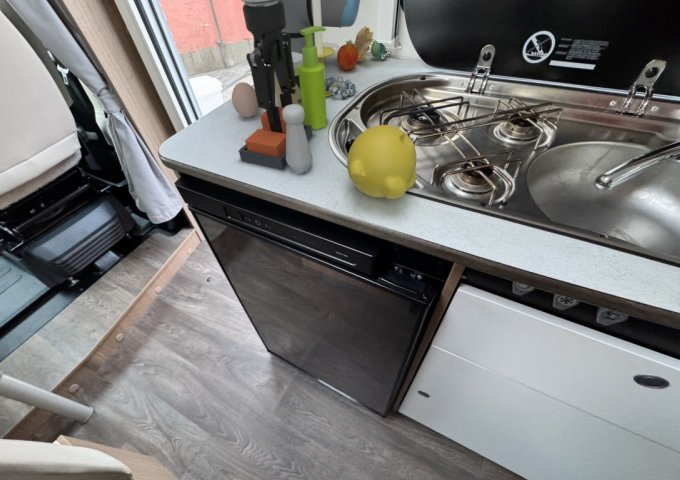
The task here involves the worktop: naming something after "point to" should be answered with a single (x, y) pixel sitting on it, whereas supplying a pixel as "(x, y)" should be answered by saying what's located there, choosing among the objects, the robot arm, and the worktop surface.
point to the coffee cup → (297, 96)
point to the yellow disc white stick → (321, 50)
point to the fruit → (347, 56)
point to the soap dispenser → (312, 82)
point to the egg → (245, 99)
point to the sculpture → (382, 162)
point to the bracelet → (339, 81)
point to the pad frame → (268, 159)
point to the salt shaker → (296, 139)
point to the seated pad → (267, 142)
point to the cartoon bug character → (363, 44)
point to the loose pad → (266, 124)
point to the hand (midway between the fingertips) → (283, 128)
